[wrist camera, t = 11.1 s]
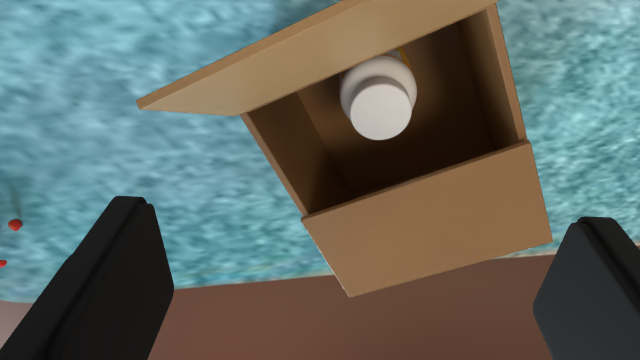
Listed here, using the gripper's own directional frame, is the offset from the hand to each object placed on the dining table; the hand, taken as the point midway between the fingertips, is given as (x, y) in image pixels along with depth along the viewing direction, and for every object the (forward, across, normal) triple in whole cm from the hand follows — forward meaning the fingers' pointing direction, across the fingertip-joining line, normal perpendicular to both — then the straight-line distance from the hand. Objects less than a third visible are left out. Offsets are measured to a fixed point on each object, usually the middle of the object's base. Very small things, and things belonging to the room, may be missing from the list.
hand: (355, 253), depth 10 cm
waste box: (+28, -4, +8) cm, 29 cm away
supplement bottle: (+28, -2, +5) cm, 28 cm away
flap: (+11, +1, -1) cm, 11 cm away
